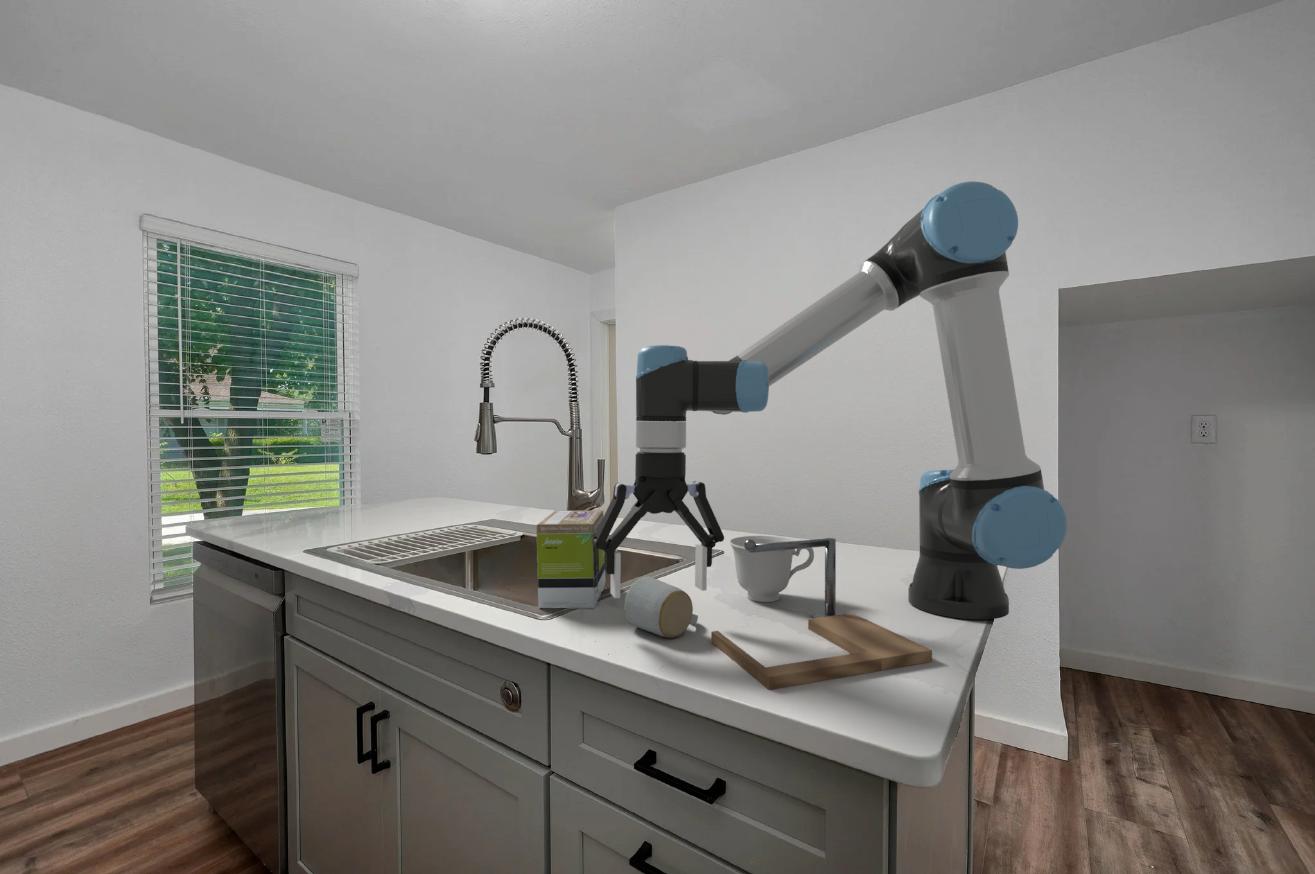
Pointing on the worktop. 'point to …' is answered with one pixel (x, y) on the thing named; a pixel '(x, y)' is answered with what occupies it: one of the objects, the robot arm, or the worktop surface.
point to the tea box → (569, 560)
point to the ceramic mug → (659, 607)
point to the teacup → (765, 568)
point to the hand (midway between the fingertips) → (659, 592)
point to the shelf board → (849, 632)
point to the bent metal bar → (829, 564)
